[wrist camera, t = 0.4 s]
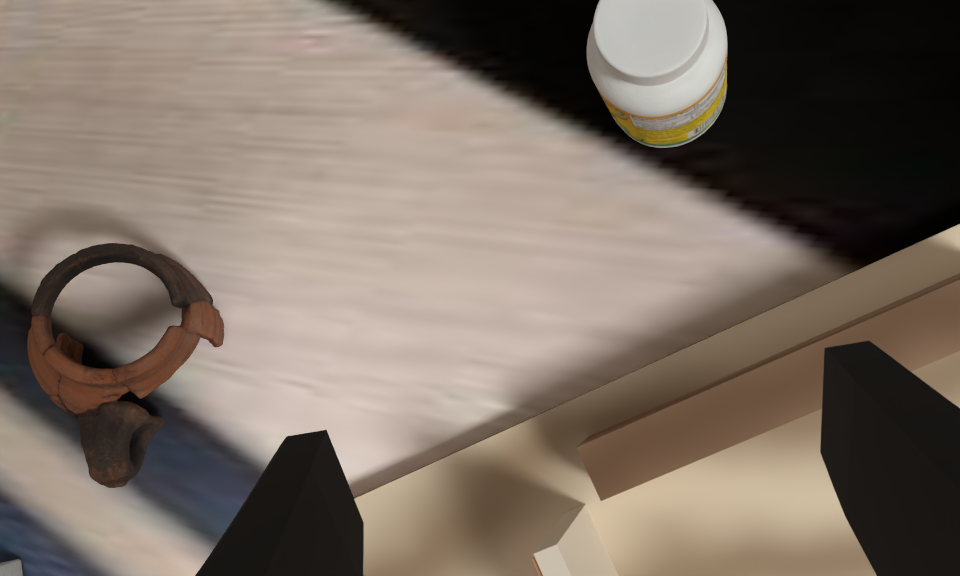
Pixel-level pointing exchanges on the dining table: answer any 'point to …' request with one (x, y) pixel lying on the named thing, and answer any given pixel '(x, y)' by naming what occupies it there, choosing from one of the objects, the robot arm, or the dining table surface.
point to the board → (671, 497)
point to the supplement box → (11, 568)
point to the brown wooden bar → (765, 392)
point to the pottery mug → (94, 392)
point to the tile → (574, 548)
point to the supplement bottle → (659, 67)
